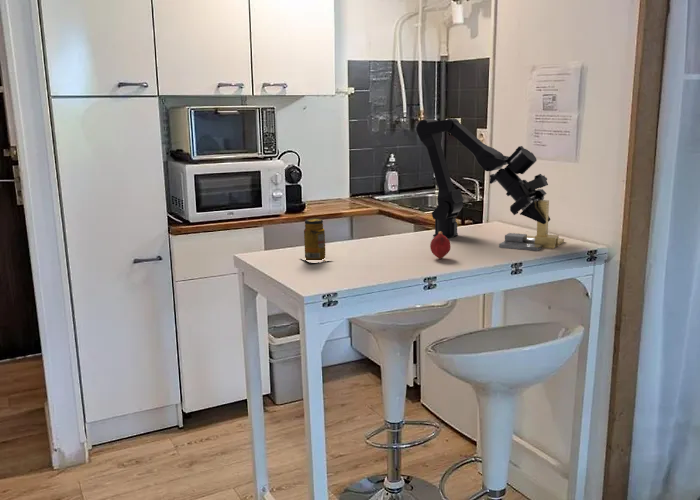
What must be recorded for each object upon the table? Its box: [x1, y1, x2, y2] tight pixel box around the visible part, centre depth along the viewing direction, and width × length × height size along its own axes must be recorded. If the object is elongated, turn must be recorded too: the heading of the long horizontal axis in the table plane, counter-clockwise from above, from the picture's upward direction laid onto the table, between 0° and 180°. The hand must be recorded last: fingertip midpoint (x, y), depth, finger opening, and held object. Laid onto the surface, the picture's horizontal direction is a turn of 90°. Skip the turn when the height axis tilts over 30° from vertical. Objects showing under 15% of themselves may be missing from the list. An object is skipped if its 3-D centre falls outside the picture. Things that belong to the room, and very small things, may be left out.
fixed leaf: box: [498, 232, 556, 252], centre depth 202 cm, size 15×9×3 cm, turn 58°
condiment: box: [303, 218, 326, 260], centre depth 193 cm, size 7×8×12 cm
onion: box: [429, 231, 452, 260], centre depth 190 cm, size 6×6×8 cm
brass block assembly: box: [527, 199, 565, 249], centre depth 205 cm, size 12×11×14 cm
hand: (547, 222), depth 200 cm, fingers open, 4 cm apart
